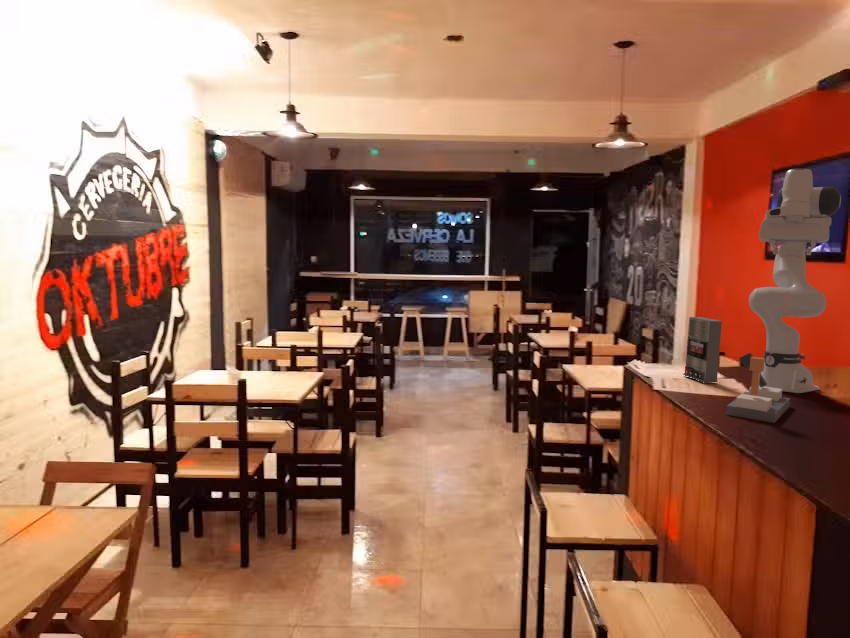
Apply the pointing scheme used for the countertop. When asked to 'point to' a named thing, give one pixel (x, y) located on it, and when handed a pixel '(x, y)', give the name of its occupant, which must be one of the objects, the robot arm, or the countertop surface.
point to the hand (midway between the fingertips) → (791, 254)
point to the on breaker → (746, 363)
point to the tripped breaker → (756, 373)
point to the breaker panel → (760, 414)
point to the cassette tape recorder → (703, 349)
